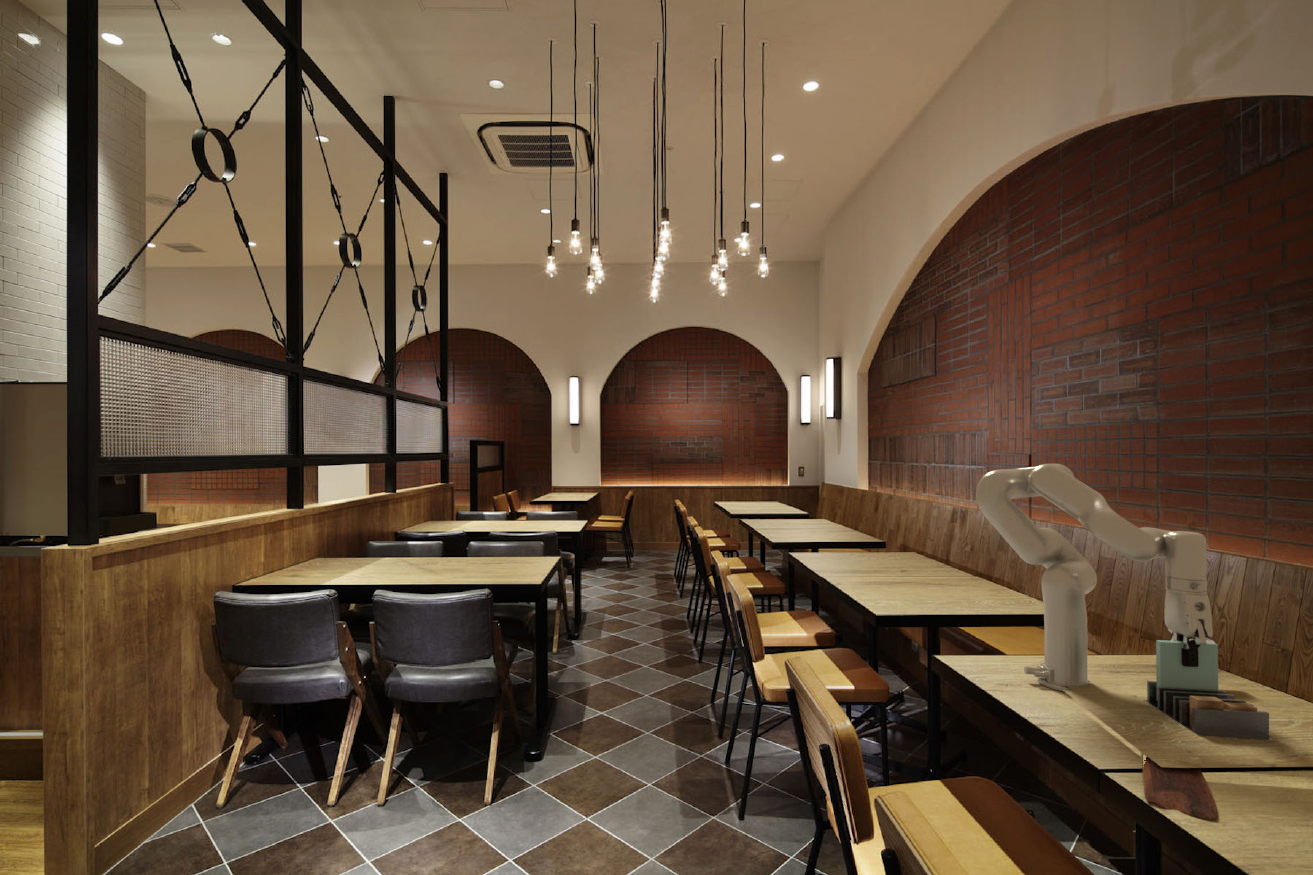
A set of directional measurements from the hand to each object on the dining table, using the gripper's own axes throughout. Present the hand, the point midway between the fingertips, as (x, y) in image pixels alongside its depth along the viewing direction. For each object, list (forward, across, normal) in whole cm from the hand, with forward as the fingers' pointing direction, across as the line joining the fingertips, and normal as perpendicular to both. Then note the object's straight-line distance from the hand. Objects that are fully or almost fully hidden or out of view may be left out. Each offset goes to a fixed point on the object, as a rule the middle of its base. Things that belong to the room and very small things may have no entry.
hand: (1186, 664), depth 153 cm
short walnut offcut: (+10, -12, -3) cm, 16 cm away
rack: (+12, -6, 0) cm, 13 cm away
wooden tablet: (+13, -34, +22) cm, 43 cm away
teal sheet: (+9, 0, 0) cm, 9 cm away
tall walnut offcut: (+10, -12, +3) cm, 16 cm away
